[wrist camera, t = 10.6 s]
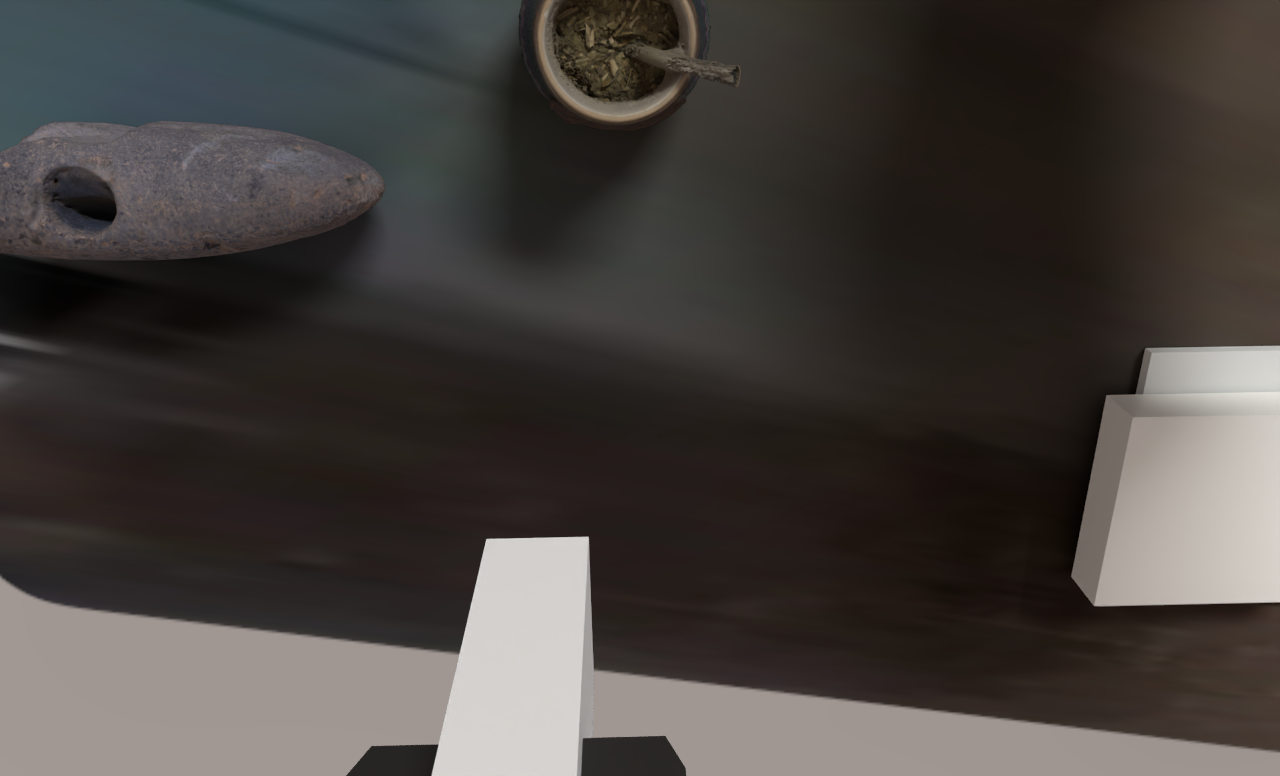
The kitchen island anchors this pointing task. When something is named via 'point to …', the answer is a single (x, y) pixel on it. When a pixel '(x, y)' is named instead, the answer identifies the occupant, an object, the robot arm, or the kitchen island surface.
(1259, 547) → the tile
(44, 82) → the kitchen island surface
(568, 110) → the mate gourd
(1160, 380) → the mat
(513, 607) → the robot arm
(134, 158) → the perforated stone tool
